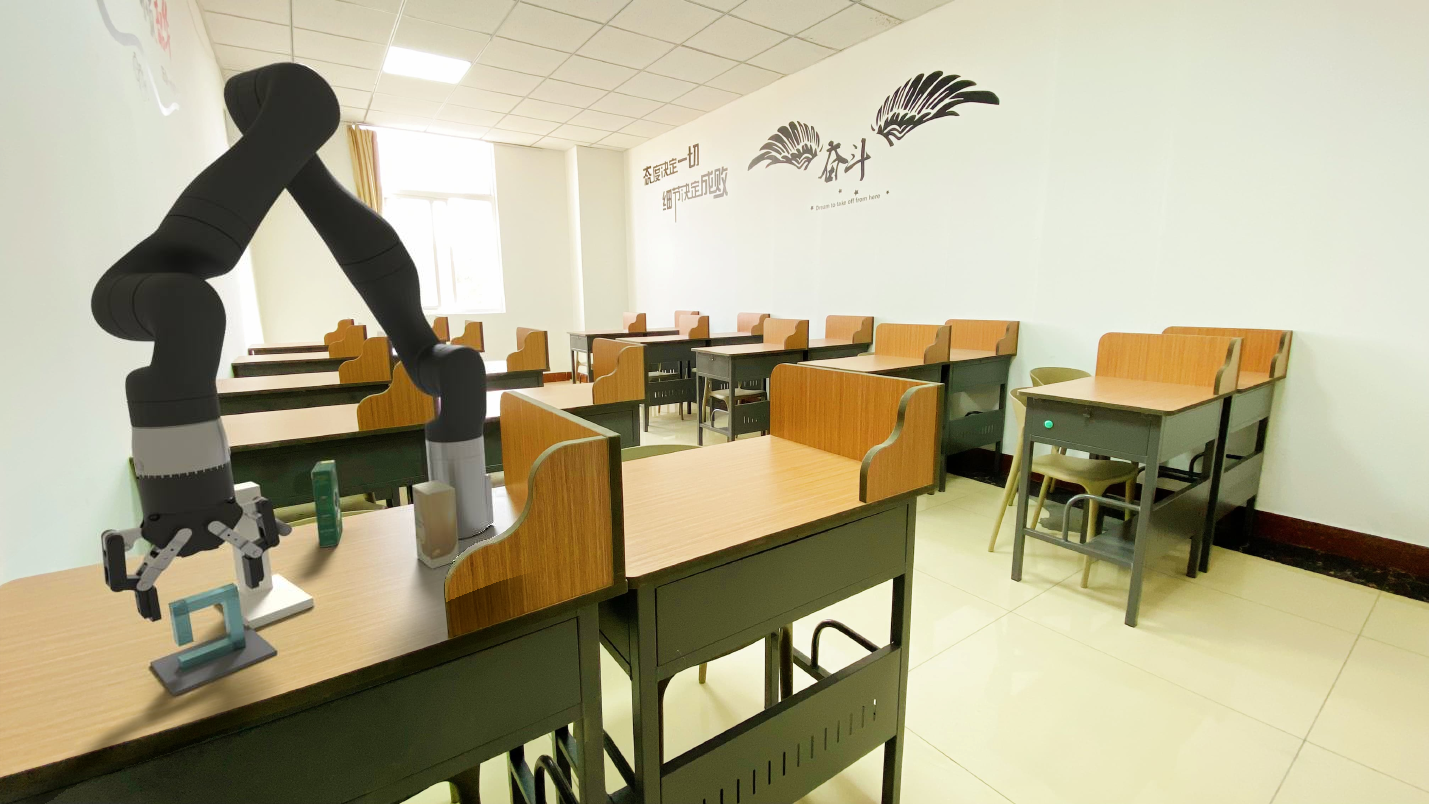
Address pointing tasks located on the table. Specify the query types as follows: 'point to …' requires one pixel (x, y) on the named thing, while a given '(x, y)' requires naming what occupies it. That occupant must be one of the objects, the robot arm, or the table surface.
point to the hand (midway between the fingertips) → (206, 601)
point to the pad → (211, 663)
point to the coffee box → (327, 503)
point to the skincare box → (435, 523)
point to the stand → (274, 590)
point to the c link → (232, 622)
